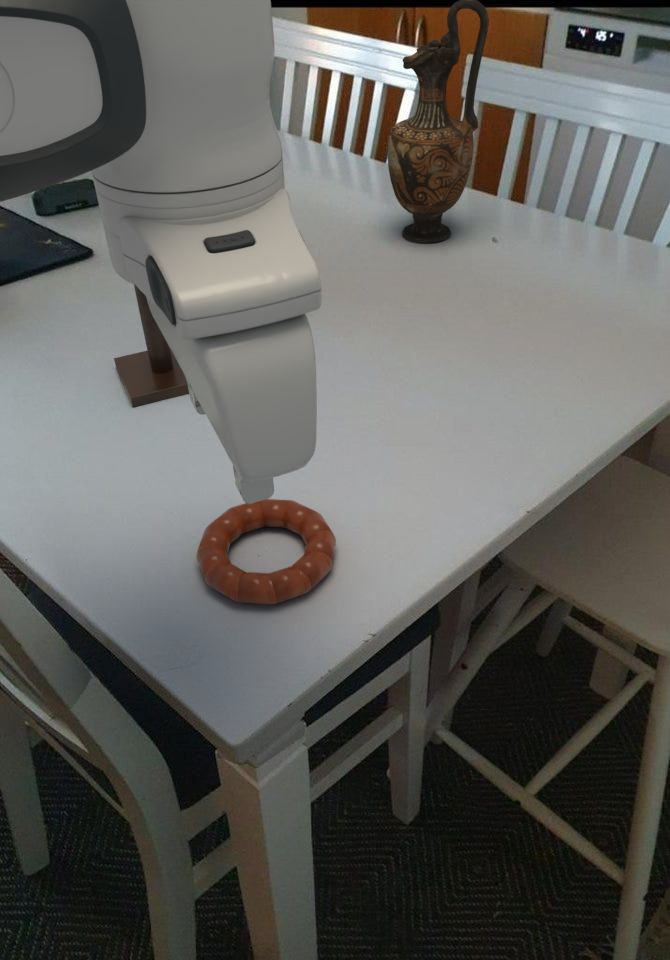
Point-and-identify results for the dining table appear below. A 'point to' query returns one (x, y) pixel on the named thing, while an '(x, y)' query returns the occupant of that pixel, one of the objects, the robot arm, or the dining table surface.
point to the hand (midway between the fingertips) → (229, 447)
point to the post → (151, 364)
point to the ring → (276, 583)
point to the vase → (435, 134)
